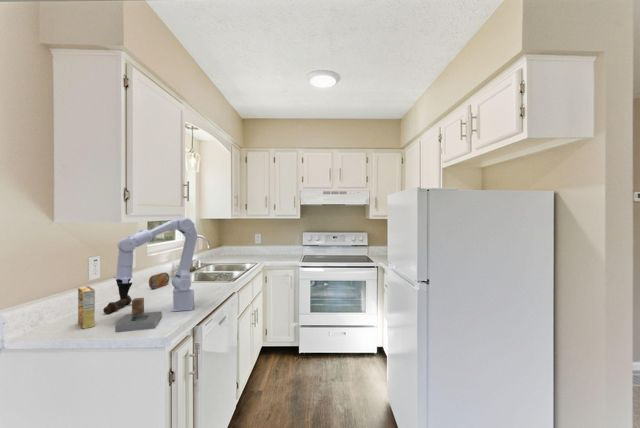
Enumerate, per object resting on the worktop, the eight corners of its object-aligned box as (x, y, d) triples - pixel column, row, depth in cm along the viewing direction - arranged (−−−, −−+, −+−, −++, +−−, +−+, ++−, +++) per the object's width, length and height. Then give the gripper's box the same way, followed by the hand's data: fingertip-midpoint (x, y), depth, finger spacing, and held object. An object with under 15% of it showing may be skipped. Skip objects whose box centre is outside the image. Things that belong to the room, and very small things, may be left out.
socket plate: (161, 316, 141) (161, 311, 141) (154, 328, 127) (154, 322, 127) (126, 320, 137) (126, 314, 136) (115, 332, 123) (115, 325, 123)
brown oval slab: (152, 290, 187) (152, 276, 187) (147, 290, 188) (147, 276, 187) (169, 284, 202) (169, 271, 201) (165, 284, 202) (165, 271, 202)
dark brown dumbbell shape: (104, 318, 144) (125, 307, 159) (113, 313, 144) (133, 302, 159) (97, 307, 144) (119, 297, 159) (107, 302, 143) (127, 292, 158)
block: (144, 312, 147) (143, 297, 146) (141, 315, 143) (141, 299, 143) (134, 313, 145) (134, 298, 145) (132, 316, 142) (131, 300, 142)
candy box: (77, 324, 132) (77, 287, 132) (89, 321, 135) (89, 285, 135) (82, 329, 126) (82, 291, 126) (95, 326, 129) (95, 289, 129)
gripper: (113, 263, 140) (111, 294, 140) (114, 268, 128) (112, 301, 128) (131, 263, 144) (129, 292, 144) (134, 267, 132) (132, 300, 132)
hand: (122, 297), depth 136 cm, fingers open, 7 cm apart
